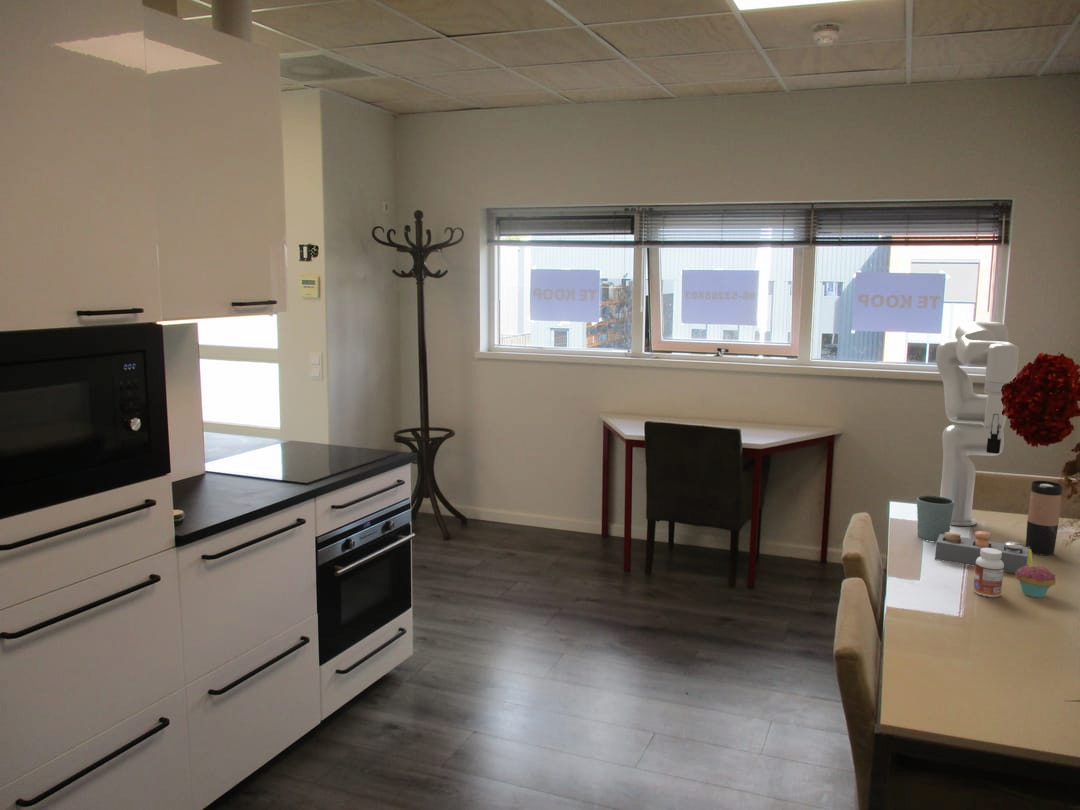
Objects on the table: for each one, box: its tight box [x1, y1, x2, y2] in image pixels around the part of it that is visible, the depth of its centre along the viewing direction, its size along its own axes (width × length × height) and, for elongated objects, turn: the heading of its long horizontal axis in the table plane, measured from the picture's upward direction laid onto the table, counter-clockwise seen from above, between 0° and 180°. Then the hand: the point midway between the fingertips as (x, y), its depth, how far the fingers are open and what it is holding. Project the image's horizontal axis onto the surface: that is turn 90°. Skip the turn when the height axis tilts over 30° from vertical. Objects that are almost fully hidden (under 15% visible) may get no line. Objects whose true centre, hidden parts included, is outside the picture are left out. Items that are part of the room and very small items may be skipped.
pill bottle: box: [972, 548, 1004, 598], centre depth 208 cm, size 6×6×11 cm
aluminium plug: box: [1004, 540, 1023, 553], centre depth 227 cm, size 4×4×6 cm
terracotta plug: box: [974, 530, 992, 548], centre depth 231 cm, size 4×4×6 cm
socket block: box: [934, 534, 1029, 574], centre depth 231 cm, size 9×22×5 cm, turn 59°
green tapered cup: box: [916, 494, 954, 543], centre depth 252 cm, size 10×10×12 cm
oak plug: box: [944, 531, 961, 543], centre depth 235 cm, size 4×4×6 cm
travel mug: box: [1025, 480, 1063, 556], centre depth 240 cm, size 8×8×20 cm
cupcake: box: [1015, 547, 1057, 598], centre depth 208 cm, size 9×8×12 cm
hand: (992, 452), depth 236 cm, fingers closed
